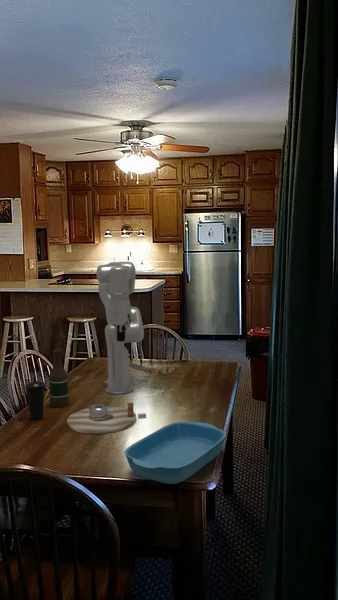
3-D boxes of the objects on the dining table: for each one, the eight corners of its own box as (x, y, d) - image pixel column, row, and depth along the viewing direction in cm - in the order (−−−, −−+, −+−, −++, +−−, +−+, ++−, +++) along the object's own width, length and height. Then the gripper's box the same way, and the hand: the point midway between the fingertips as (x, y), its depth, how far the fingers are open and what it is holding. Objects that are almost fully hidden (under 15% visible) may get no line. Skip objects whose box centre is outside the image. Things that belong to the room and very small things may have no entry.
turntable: (71, 411, 211) (70, 395, 211) (135, 408, 213) (135, 393, 212) (63, 435, 186) (62, 418, 185) (136, 432, 188) (135, 414, 187)
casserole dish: (175, 497, 141) (175, 472, 140) (111, 478, 153) (110, 454, 152) (236, 449, 171) (236, 428, 170) (179, 436, 183) (178, 416, 183)
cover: (91, 414, 203) (90, 403, 203) (110, 414, 203) (110, 403, 202) (86, 420, 196) (86, 410, 195) (107, 420, 195) (106, 410, 195)
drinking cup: (29, 422, 200) (26, 371, 197) (24, 416, 207) (21, 367, 204) (48, 419, 203) (46, 369, 201) (44, 413, 210) (41, 364, 208)
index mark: (138, 418, 202) (138, 414, 201) (138, 417, 203) (137, 413, 203) (146, 417, 202) (146, 414, 202) (145, 416, 204) (145, 412, 203)
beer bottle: (72, 403, 222) (70, 348, 219) (61, 409, 215) (58, 352, 212) (57, 401, 225) (55, 346, 222) (46, 406, 218) (43, 350, 215)
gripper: (100, 296, 216) (102, 340, 218) (125, 299, 206) (126, 344, 208) (114, 294, 222) (116, 337, 224) (138, 297, 211) (140, 341, 214)
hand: (121, 340), depth 216 cm, fingers closed
